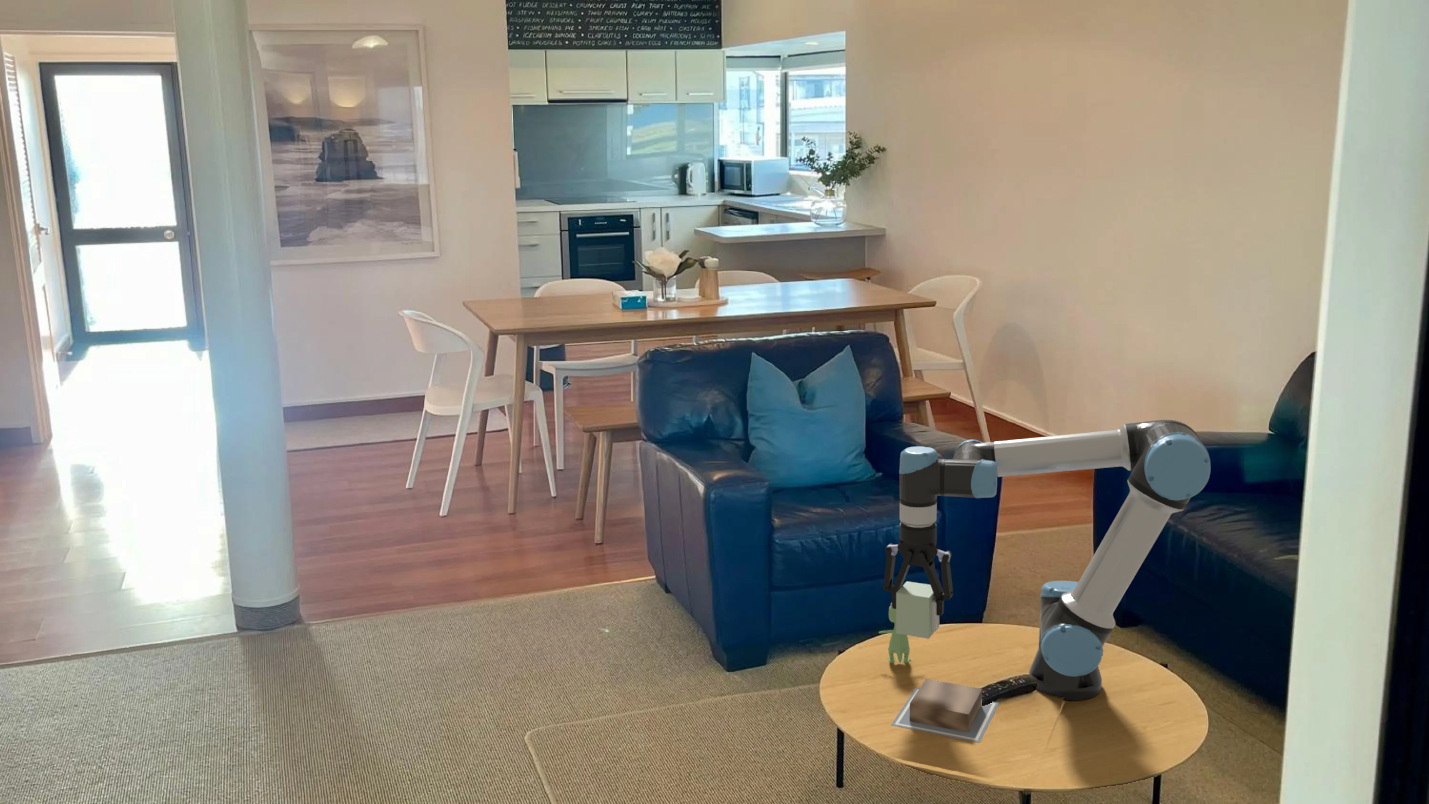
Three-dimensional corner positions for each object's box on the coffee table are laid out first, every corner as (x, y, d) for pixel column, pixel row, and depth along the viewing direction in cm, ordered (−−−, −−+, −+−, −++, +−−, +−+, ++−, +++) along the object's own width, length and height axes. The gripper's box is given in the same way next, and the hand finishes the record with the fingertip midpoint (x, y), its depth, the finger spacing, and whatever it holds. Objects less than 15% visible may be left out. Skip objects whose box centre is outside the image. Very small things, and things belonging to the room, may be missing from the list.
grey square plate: (999, 705, 247) (999, 702, 247) (979, 745, 231) (979, 742, 231) (915, 690, 254) (915, 687, 254) (890, 727, 239) (891, 724, 239)
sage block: (938, 626, 248) (939, 586, 247) (928, 638, 242) (929, 597, 240) (906, 620, 252) (906, 581, 250) (896, 633, 246) (896, 592, 244)
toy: (899, 654, 272) (898, 593, 269) (923, 665, 266) (923, 602, 263) (876, 662, 268) (876, 600, 265) (900, 674, 262) (900, 610, 259)
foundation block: (981, 706, 245) (982, 688, 245) (968, 732, 235) (968, 714, 234) (925, 695, 250) (925, 678, 250) (909, 721, 240) (909, 703, 239)
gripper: (970, 521, 241) (969, 626, 246) (877, 511, 250) (878, 612, 255) (960, 533, 234) (959, 640, 239) (865, 521, 243) (866, 625, 248)
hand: (917, 625), depth 247 cm, fingers closed on sage block, 7 cm apart
